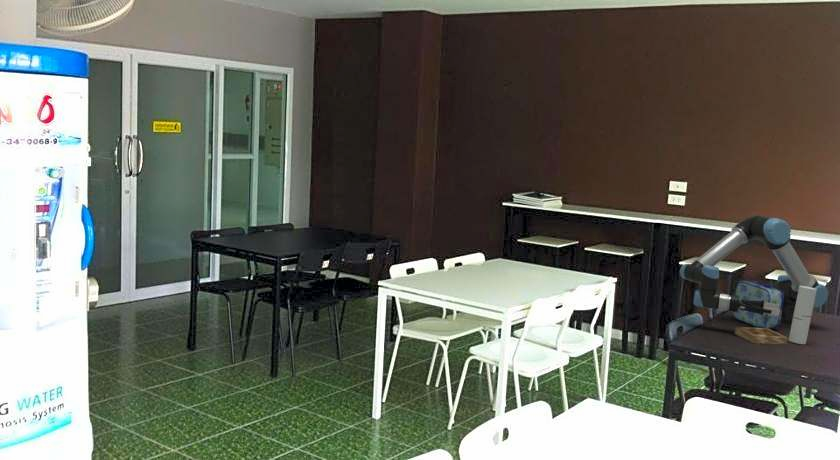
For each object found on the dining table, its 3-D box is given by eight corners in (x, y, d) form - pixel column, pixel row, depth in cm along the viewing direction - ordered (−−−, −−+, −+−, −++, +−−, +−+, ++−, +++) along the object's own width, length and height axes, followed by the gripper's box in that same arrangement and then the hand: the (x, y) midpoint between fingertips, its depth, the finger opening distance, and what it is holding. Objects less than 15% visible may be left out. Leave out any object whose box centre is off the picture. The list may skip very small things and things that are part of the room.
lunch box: (783, 331, 387) (789, 288, 385) (764, 331, 384) (770, 287, 382) (747, 318, 412) (752, 277, 409) (729, 317, 409) (734, 276, 406)
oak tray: (767, 335, 377) (768, 328, 377) (786, 344, 361) (787, 337, 361) (734, 333, 375) (735, 326, 375) (752, 343, 359) (753, 336, 359)
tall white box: (807, 345, 363) (818, 290, 360) (790, 342, 364) (801, 287, 362) (803, 341, 370) (814, 287, 367) (787, 338, 371) (797, 285, 369)
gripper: (729, 306, 388) (777, 313, 380) (727, 315, 365) (778, 323, 358) (731, 290, 387) (779, 297, 380) (729, 299, 365) (780, 306, 357)
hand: (779, 310), depth 369 cm, fingers open, 13 cm apart
